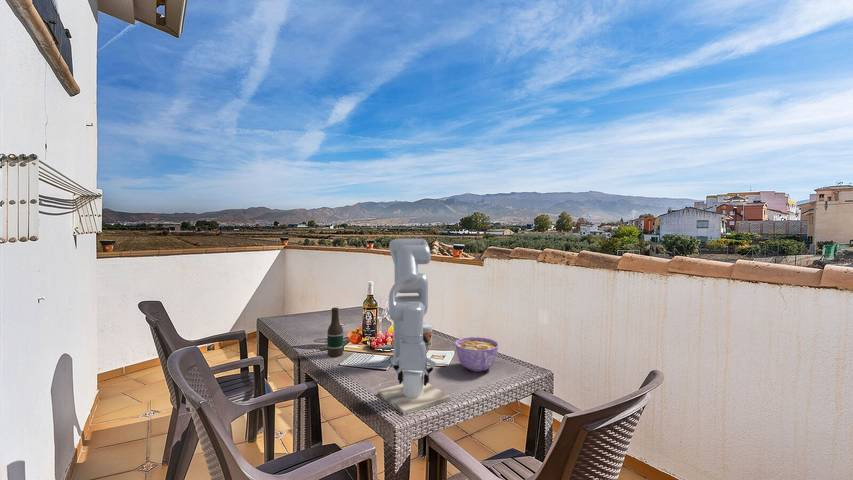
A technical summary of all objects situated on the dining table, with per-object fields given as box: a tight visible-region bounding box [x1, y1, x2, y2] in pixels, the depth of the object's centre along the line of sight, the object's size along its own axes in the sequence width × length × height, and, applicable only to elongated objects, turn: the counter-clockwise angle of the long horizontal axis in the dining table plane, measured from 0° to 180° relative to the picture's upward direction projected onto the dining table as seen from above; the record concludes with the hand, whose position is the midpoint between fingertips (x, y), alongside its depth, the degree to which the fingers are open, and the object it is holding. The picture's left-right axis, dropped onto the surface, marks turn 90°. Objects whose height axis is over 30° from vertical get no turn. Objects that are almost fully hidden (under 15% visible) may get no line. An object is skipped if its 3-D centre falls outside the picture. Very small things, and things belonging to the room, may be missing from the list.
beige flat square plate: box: [377, 379, 451, 413], centre depth 145 cm, size 20×20×7 cm
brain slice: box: [367, 341, 394, 350], centre depth 205 cm, size 20×17×3 cm
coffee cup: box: [423, 322, 434, 351], centre depth 205 cm, size 9×9×12 cm
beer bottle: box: [326, 307, 344, 358], centre depth 193 cm, size 8×8×24 cm
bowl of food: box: [454, 336, 500, 373], centre depth 175 cm, size 20×20×12 cm
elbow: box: [402, 370, 424, 398], centre depth 147 cm, size 7×11×8 cm
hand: (413, 383), depth 145 cm, fingers open, 9 cm apart
